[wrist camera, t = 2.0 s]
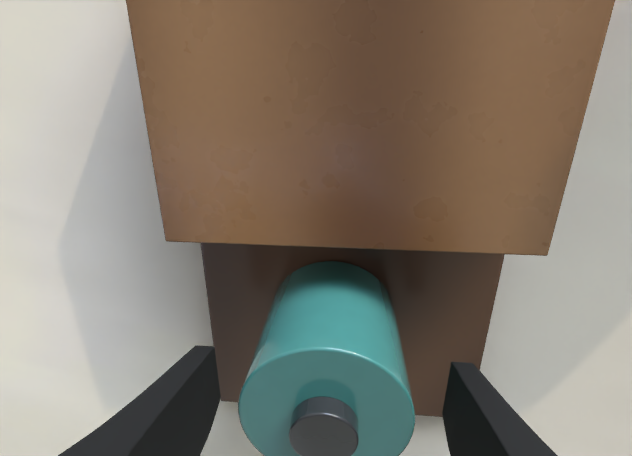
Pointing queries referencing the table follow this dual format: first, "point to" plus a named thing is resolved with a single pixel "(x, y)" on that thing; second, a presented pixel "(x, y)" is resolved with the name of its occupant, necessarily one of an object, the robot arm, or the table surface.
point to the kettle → (328, 369)
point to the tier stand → (364, 152)
